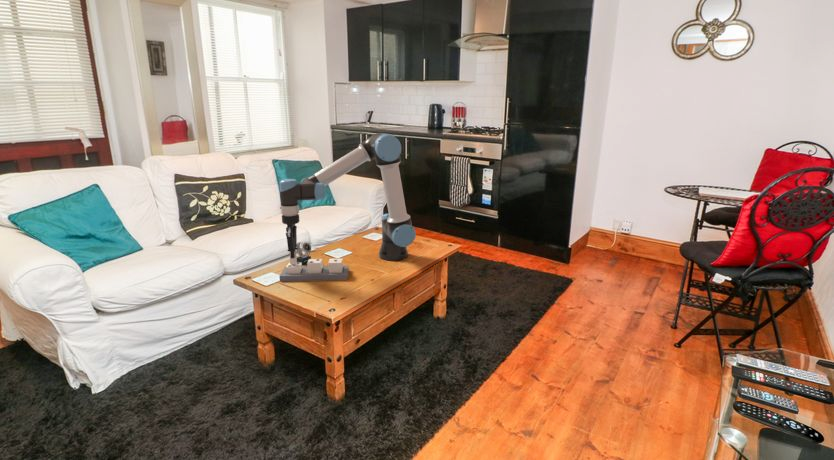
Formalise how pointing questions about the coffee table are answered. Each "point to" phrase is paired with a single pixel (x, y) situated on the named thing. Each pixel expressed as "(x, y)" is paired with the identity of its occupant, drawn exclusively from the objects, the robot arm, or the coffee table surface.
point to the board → (315, 275)
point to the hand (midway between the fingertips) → (293, 264)
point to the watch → (306, 249)
